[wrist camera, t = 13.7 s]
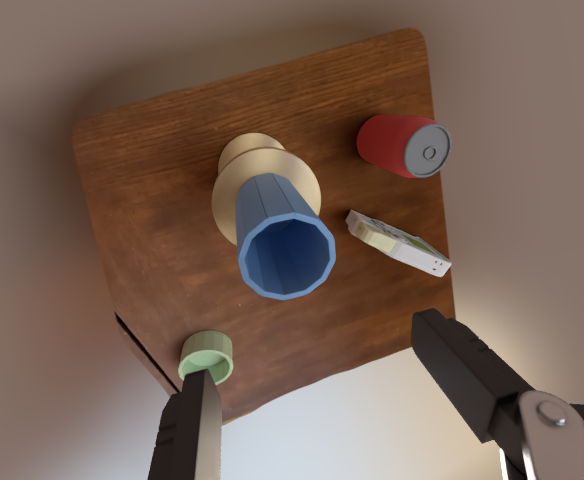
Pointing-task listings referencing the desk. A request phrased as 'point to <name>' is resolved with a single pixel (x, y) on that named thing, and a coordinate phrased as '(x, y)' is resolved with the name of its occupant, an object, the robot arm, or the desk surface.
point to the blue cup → (280, 239)
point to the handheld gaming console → (397, 244)
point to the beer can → (405, 144)
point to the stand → (248, 163)
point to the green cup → (207, 355)
